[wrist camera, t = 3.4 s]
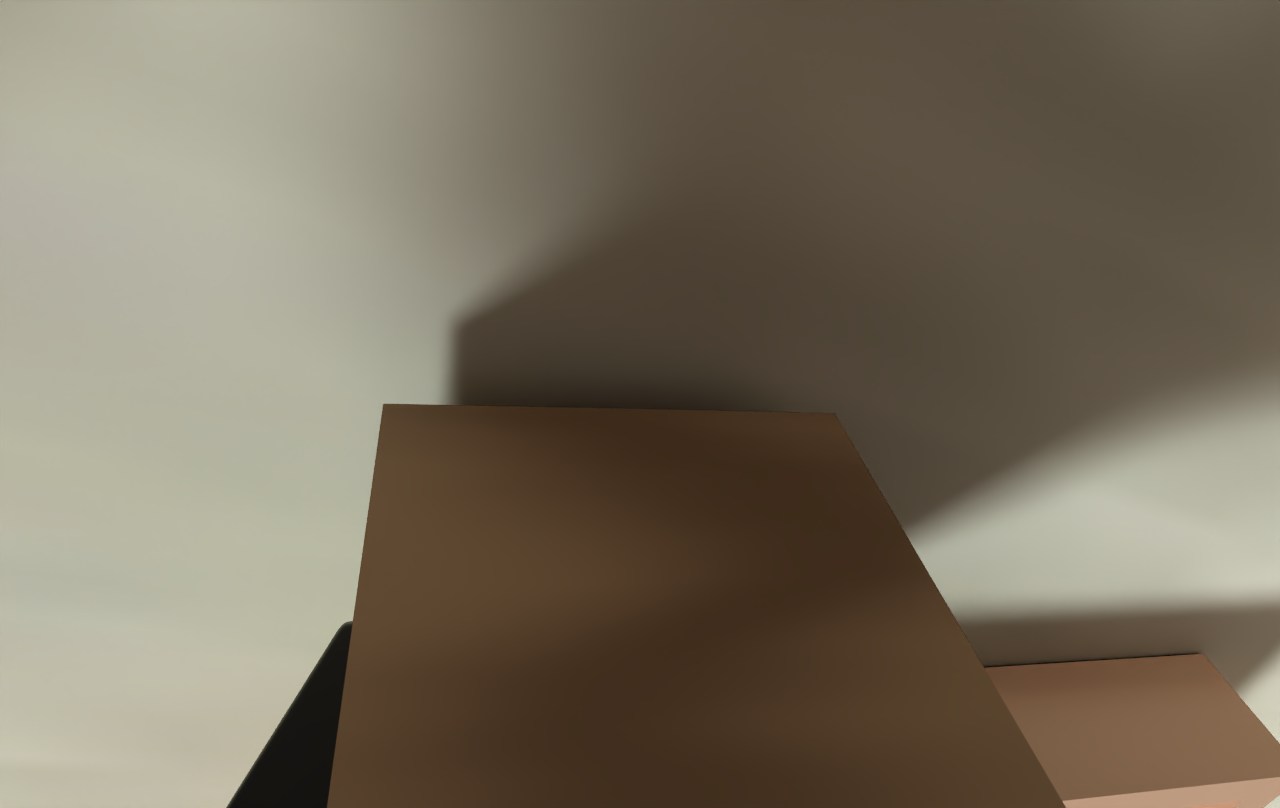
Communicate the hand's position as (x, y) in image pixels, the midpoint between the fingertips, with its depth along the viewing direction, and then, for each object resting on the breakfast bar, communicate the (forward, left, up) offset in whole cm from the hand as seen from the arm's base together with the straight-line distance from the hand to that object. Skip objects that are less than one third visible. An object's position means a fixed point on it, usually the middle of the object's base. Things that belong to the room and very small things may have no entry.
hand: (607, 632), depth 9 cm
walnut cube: (0, 0, -1) cm, 1 cm away
